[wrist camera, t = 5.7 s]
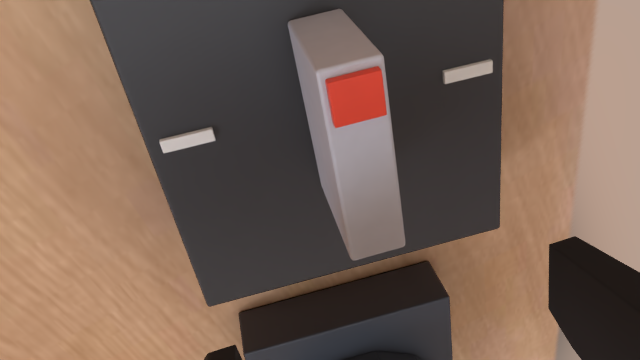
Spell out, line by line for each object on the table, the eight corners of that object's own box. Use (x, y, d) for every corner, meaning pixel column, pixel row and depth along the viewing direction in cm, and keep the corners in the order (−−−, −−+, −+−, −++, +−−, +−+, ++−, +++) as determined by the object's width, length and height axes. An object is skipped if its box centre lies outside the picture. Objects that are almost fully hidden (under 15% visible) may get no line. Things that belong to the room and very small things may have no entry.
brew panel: (463, 182, 22) (503, 231, 19) (204, 250, 21) (208, 311, 18) (453, -191, 15) (512, -195, 12) (72, -114, 14) (48, -101, 11)
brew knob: (367, 174, 17) (410, 253, 14) (321, 186, 17) (354, 269, 13) (341, 7, 14) (388, 57, 11) (286, 20, 14) (317, 76, 11)
